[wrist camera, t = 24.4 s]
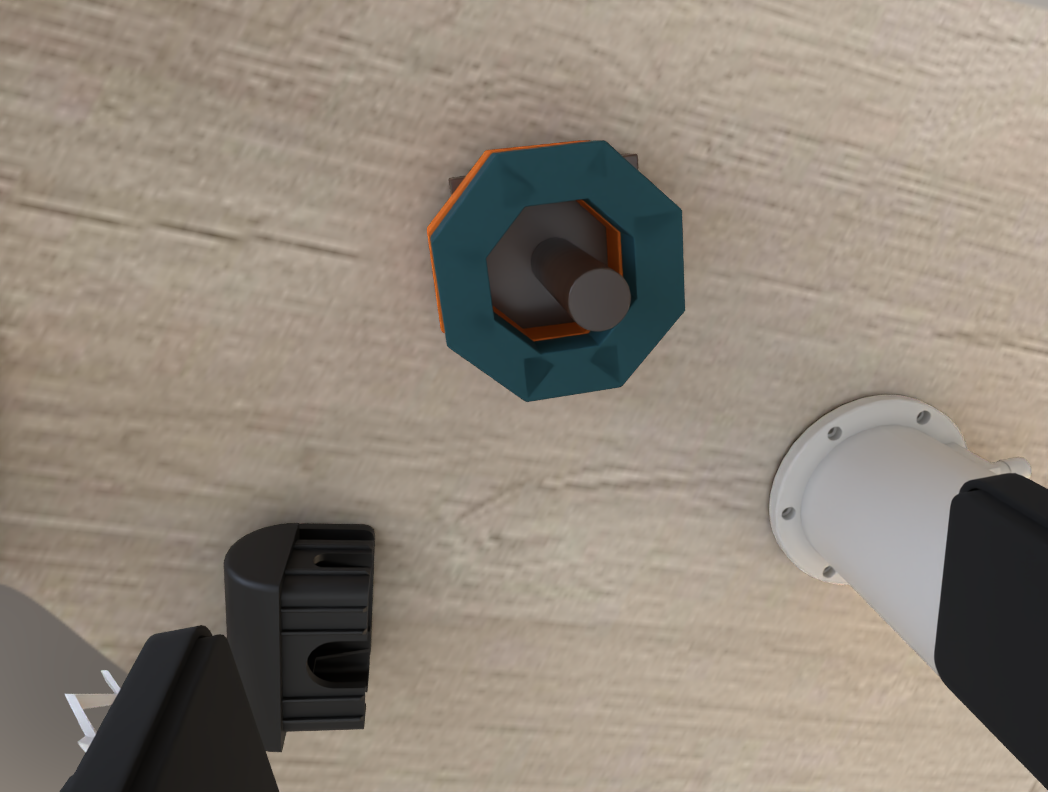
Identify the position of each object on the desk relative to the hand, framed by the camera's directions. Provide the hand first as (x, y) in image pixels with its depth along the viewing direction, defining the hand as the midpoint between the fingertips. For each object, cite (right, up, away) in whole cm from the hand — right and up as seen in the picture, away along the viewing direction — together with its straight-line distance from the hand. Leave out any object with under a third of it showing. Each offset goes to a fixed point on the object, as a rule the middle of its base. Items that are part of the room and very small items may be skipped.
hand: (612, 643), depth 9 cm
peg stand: (0, +10, +27) cm, 29 cm away
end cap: (-13, -8, +31) cm, 35 cm away
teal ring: (0, +9, +23) cm, 25 cm away
